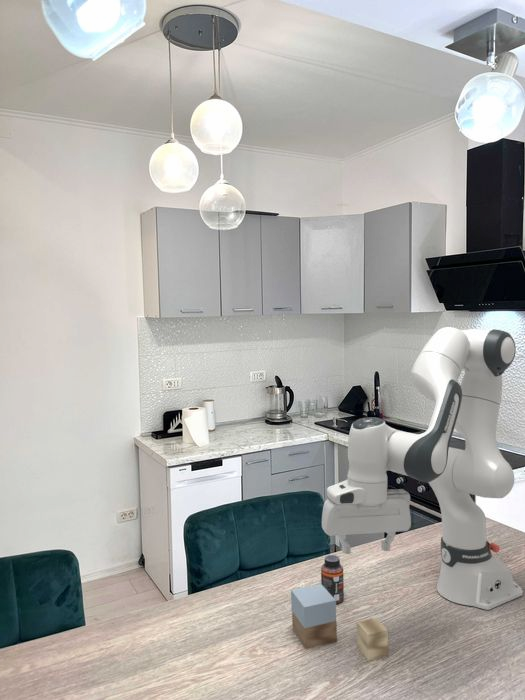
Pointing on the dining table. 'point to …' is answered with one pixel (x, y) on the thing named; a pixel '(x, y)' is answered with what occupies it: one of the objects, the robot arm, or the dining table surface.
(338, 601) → the supplement bottle
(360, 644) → the maple block
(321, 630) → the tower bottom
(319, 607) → the tower top
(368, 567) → the dining table surface
